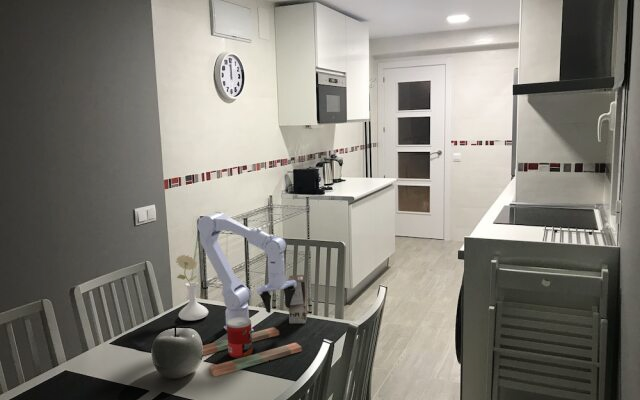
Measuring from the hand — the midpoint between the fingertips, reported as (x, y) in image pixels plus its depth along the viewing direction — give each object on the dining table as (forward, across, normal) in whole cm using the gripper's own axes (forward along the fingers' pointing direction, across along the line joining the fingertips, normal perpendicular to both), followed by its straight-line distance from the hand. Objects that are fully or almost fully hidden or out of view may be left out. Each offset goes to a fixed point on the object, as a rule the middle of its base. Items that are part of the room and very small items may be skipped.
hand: (278, 309), depth 184 cm
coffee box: (+10, +13, +9) cm, 18 cm away
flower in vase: (+10, -20, +35) cm, 41 cm away
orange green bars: (+9, -15, -6) cm, 19 cm away
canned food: (+10, -17, -6) cm, 21 cm away
